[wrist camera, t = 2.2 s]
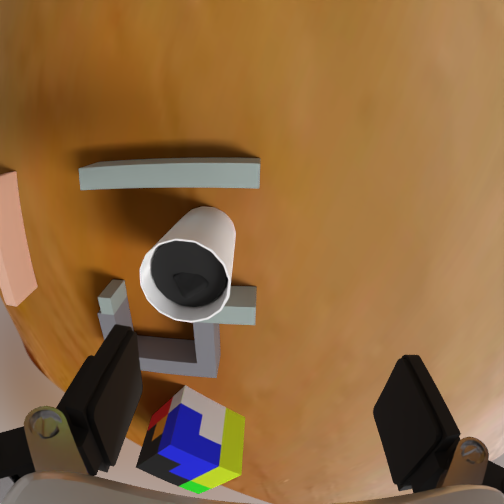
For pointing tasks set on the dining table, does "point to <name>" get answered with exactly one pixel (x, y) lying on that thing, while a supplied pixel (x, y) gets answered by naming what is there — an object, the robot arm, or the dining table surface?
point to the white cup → (191, 266)
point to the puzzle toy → (193, 442)
